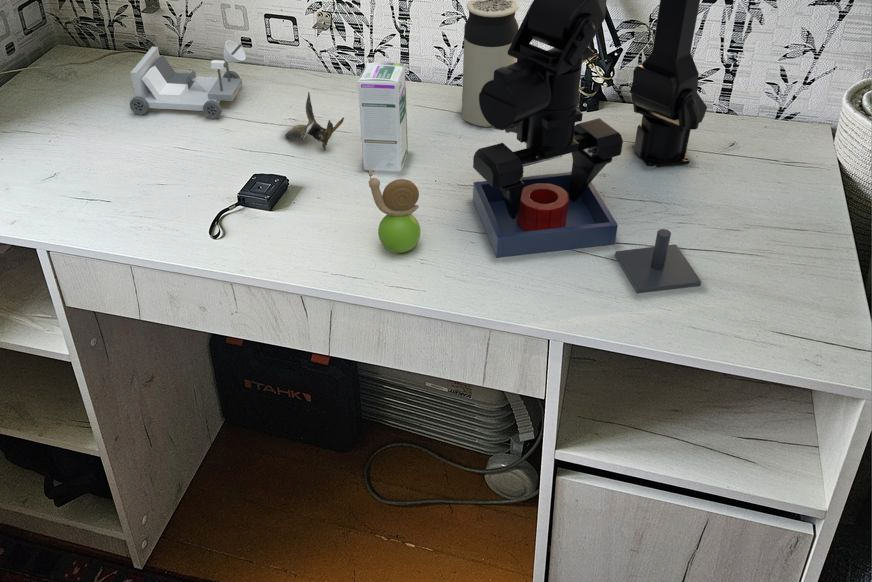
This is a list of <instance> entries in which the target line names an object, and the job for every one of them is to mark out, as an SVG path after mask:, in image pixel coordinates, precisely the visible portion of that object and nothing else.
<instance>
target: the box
mask: <svg viewBox="0 0 872 582" xmlns="http://www.w3.org/2000/svg"><path fill="white" fill-rule="evenodd" d="M571 173H572V171H565V172H558V173H557V172H556V173H547V174H538V175H530V176H529V175H527V176H523V177H522V178H521V179H520V180H521V181H522V182H523V183H524V186H523V188H524V187H526V186H529V185H532V184H537V183H544V184H549V185H550V184H553V185H556V186H559V187H561V188H562V189H564V190H565V191H566V192H567V193H568V196H569V203H568V212H567V220H566V226H565V227H563V228H554V229H545V230H536V231H527V232H526V231H524V230H522V229H521V228H520V227H519V226H518V224H517V216H516V218H515V219H512V218H511V217H510V216H509V214H508V211H507V208H506V205H505V202H504V199H503V196H502V193H501V190H500V188H497V187H492V186H491V185H490V184H489V183H488V182H487V181H486V180H482V181H473V185H472V203H473V206H474V207H475V210H476V213H477V215H478V217H479V220H480V222H481V224H482V227H483V229H484V232H485V234H486V236H487V239H488V241H489V244H490V246H491V248H492V251H493V253H494V256H495V258H496V259H501V258H510V257H517V256H519V257H520V256H527V255H536V254H545V253H554V252H563V251H570V250H571V251H573V250H580V249H589V248H597V247H598V248H599V247H605V246H606V247H607V246H615V244H616V238H617V234H618V226H619V224H618V223H617V221H616V220H615V218H614V216H613V215H612V213H611V211H610V210H609V207H608V206H607V204H606V203H605V201H604V200H603V198H602V197H601V195H600V193H599V192H598V190H597V188H596V186H595V185H594V184H593V181H591V183H590V184H589V185H588V186H587V188H586V189H585V190H584V192H583V193H582V194H581V196H580V197H579V198H578V200H577V201H576V202H572V201H571V200H570V181H571Z"/></svg>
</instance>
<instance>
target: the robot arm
mask: <svg viewBox="0 0 872 582" xmlns="http://www.w3.org/2000/svg"><path fill="white" fill-rule="evenodd" d="M607 1H608V0H533V1H532V2H531V4H530V6H529V7H528V9H527V10H526V13H525V15H524V18H523V19H522V22H521V24H520V26H519V27H518V32H517V34H516V36H515V38H514V40H513V42H512V44H511V46H510V48H509V50H508V55H509V56H512V57H514V58H516V62H515V63H513V64H511V65H509V66H506V67H501V68H498V69H496V70H495V71H494V79H493V80H490V81H488V82H487V83H486V84H485V85H484V86H483V87H482V90H481V92H480V93H479V105H480V109H481V111H482V114H483V116H484V117H485V119H486V120H487V122H488V123H489V124H490V125H492V126H491V127H493V129H495V130H498V131H504V132H505V133H507V134H510V133H514V134H516V140H517V141H518V142H519V143H521V144H522V143H525V145H526V146H525V148H522V149H519V150H515V151H512V149H510V148H509V147H508V145H506V144H505V143H504V142H500V143H496V144H493V145H488V146H484V147H480V148H478V149H477V150H476V151H475V152H474V155H473V161H472V162H473V164H472V168H473V169H474V170H475V171H476V172H477V173H478V174H479V175H480V176H481V177H482V178H483V179H484V181H487V182H488V183H489V184H490V185H491V186H492V187H497V188H500V190H501V193H502V196H503V199H504V202H505V205H506V208H507V211H508V214H509V216H510V217H511V218H512V219H515V218H516V216H517V213H518V210H519V205H520V200H521V195H522V191H523V186H524V183H523V182H522V181H521V180H520V179H521V178H522V177H524V168H525V167H528V166H532V165H536V164H539V163H543V162H547V161H550V160H551V161H552V160H555V159H558V158H562V157H563V156H564V155H568V154H571V157H572V165H571V172H572V173H571V181H570V200H571V201H572V202H576V201H577V200H578V198H579V197H580V196H581V194H582V193H583V192H584V190H585V189H586V188H587V186H588V185H589V184H590V183H591V182H593V180H594V179H595V178H596V177H597V176H598V174H599V173H600V172H601V171H602V170H603V169H604V167H606V165H608V164H610V163H612V161H613V158H615V157H619V156H621V154H622V151H623V143H624V140H623V137H622V134H621V133H620V132H619V131H618V130H616V129H615V128H613V127H612V126H611V125H609V124H608V123H607V122H606V121H604V120H603V119H601V118H600V117H599V118H598V117H597V118H595V119H591V120H587V121H583V115H584V114H583V112H581V110H579V109H578V101H579V95H580V85H581V77H582V69H583V62H585V61H587V60H590V59H591V58H593V57H594V56H595V51H594V50H593V49H591V48H590V47H589V45H590V44H591V43H592V42H593V40H594V38H595V37H596V35H597V32H598V31H599V29H600V27H601V26H602V24H603V23H604V21H605V19H606V13H607V12H606V11H607ZM700 3H701V0H659V6H658V12H657V17H656V18H657V19H656V23H655V25H656V26H655V31H654V37H653V44H652V49H651V52H650V53H649V55H647V57H646V58H645V59H644V60H643V61H642V63H641V64H639V65H637V66H635V68H634V69H633V75H632V77H633V78H632V83H631V86H630V90H629V93H630V94H631V100H632V105H633V106H632V107H633V112H634V113H636V114H640V115H642V117H641V123H639V124H638V125H637V127H636V128H637V129H636V135H635V139H634V143H632V147H633V150H634V151H635V153H636V154H637V156H638V158H640V159H641V160H642V161H643V163H644V164H645V166H646V167H648V168H649V167H656V168H660V167H667V166H668V167H669V166H675V165H676V166H677V165H687V164H690V163H691V162H690V160H691V159H690V157H689V156H688V155H687V149H688V146H689V145H688V144H689V139H690V134H691V130H697V129H698V128H699V124H700V123H702V122H703V120H704V118H705V115H706V112H707V110H708V106H707V105H706V103H705V101H704V100H703V99H702V97H701V96H700V94H699V93H698V89H699V88H698V86H699V77H700V73H699V71H698V69H697V65H696V64H695V63H696V62H695V61H694V58H693V56H692V46H693V40H694V34H695V30H696V25H697V18H698V13H699V8H700ZM532 41H536V42H539V43H541V44H543V45H547V46H549V47H551V48H550V49H547V50H546V49H545V48H544V49H543V48H542V47H538V46H537V45H533V44H531V42H532ZM582 121H583V122H582ZM576 123H577V124H576Z"/></svg>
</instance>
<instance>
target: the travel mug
mask: <svg viewBox="0 0 872 582" xmlns="http://www.w3.org/2000/svg"><path fill="white" fill-rule="evenodd" d="M466 9H467V10H468V19H467V20H466V21H465V23H464V25H463V26H464V29H463V34H464V35H463V57H462V58H463V59H462V61H463V62H462V64H463V65H462V88H461V89H462V91H461V117H462V118H463V120H464V121H466V122H467V123H470V124H472V125H473V126H478V127H488V128H490V127H493V126H492V125H490V124H489V123H488V122H487V120H486V119H485V117H484V116H483V114H482V111H481V109H480V105H479V93H480V92H481V90H482V87H483V86H484V85H485V84H486V83H487V82H488V81H490V80H493V79H494V71H495V70H496V69H498V68H501V67H506V66H509V65H511V64H513V63H515V62H517V58H514V57H512V56H509V55H508V50H509V48H510V46H511V44H512V42H513V40H514V38H515V36H516V34H517V32H518V30H519V28H520V26H519V23H518V21H517V19H516V12H517V10H518V9H519V3H518V2H517V1H516V0H468V1H467V3H466Z"/></svg>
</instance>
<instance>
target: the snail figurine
mask: <svg viewBox="0 0 872 582" xmlns="http://www.w3.org/2000/svg"><path fill="white" fill-rule="evenodd" d="M367 172H368V173H367V174H368V176H369V180H368V187H369V188H370V191H371V195H372V199H373V202H374V204H375V205H376V207H377V209H378V210H379V211H380V212H381V213H384V214H386V215H385V216H384V217H383V218H382V219H381V220H380V222H379V225H378V229H377V235H378V238H379V241H380V243H381V244H382V246H383V247H384V248H385V249H387V251H390V252H392V253H396V254H403V253H406V252H409V251H411V250H412V249H414V248H415V247H416V245H417V244H418V243H419V240H420V238H421V226H420V222H419V221H418V219H417V218H416V216H414V215H413V213H415V212H416V211H417V210H418V209H419V207H420V205H419V204H417V203H418V201H419V197H420V191H419V188H418V187H417V185H416V184H415V183H414V182H413V181H411V180H409V179H405V178H398V179H394V180H392V181H390V182H389V183H388V184H386V186H385V187H384V189H383V191H382V190H381V188H380V186H381V182H380V180H379V178H377V177H372V176H373V175H374V174H373V171H372V169H369V170H368V171H367ZM381 191H382V192H381Z"/></svg>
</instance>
